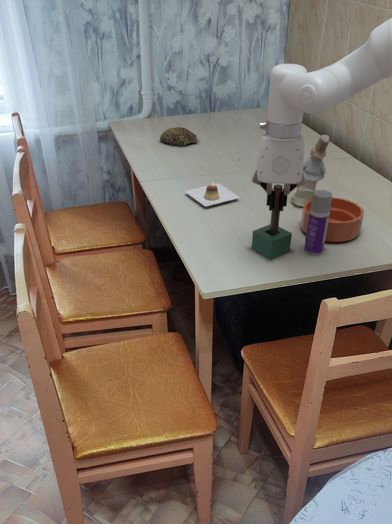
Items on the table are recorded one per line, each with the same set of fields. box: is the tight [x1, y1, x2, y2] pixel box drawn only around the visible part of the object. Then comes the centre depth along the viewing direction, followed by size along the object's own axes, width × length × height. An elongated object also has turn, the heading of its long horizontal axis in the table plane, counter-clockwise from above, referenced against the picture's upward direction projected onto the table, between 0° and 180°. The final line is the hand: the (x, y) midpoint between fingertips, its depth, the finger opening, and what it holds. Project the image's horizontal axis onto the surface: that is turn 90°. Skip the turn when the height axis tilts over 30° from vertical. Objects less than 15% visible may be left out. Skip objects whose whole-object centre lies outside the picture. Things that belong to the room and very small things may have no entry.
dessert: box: [183, 181, 241, 208], centre depth 158 cm, size 12×12×5 cm
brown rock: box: [159, 126, 198, 147], centre depth 196 cm, size 13×12×5 cm
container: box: [303, 189, 333, 256], centre depth 131 cm, size 5×5×15 cm
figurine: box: [291, 134, 331, 208], centre depth 152 cm, size 9×8×20 cm
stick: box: [269, 183, 284, 236], centre depth 130 cm, size 2×2×16 cm
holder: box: [251, 223, 293, 260], centre depth 135 cm, size 7×7×5 cm
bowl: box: [300, 196, 365, 243], centre depth 143 cm, size 15×15×6 cm
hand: (276, 208), depth 129 cm, fingers closed on stick, 2 cm apart
